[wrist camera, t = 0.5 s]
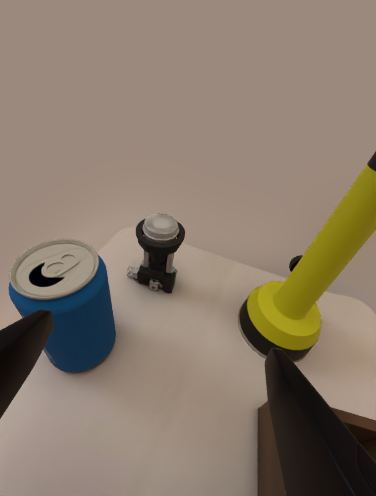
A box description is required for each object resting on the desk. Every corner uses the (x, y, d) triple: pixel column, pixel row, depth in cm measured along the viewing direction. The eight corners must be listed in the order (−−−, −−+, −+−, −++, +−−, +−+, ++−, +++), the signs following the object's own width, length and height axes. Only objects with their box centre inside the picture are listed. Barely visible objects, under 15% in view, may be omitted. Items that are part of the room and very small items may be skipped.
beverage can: (35, 348, 24) (-21, 269, 15) (88, 305, 28) (66, 224, 20) (79, 390, 21) (42, 323, 13) (129, 336, 26) (123, 260, 18)
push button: (120, 290, 30) (114, 229, 23) (135, 261, 34) (134, 202, 27) (170, 303, 30) (179, 245, 23) (180, 272, 34) (190, 215, 27)
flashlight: (610, 118, 11) (420, 79, 17) (525, 105, 8) (329, 64, 14) (325, 350, 28) (280, 290, 34) (263, 375, 25) (225, 304, 31)
